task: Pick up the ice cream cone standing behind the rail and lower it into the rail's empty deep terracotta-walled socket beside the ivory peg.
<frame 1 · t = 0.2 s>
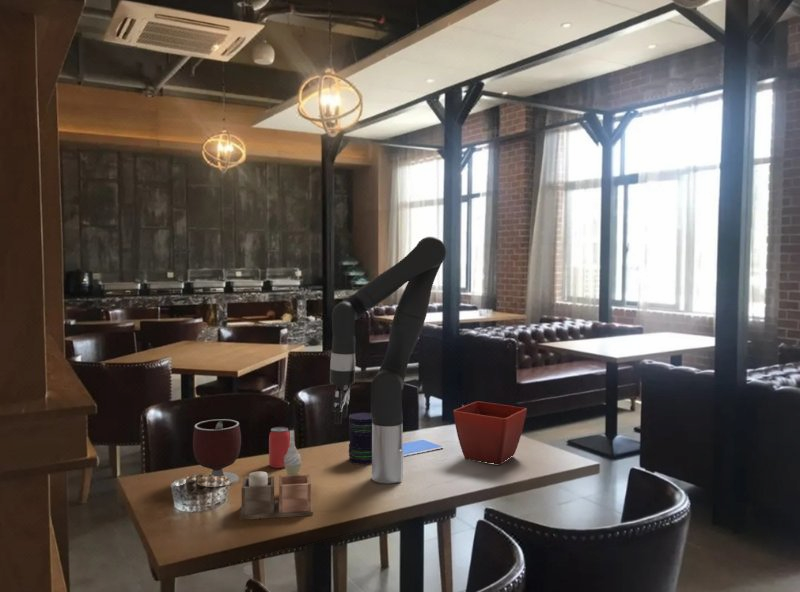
hand: (340, 420, 196), 18 cm above the table, tool pointing down, fingers open, 8 cm apart
storage jar: (363, 460, 216), on the table
socket rail: (276, 510, 171), on the table
plant pot: (489, 459, 219), on the table
mate gourd: (217, 482, 194), on the table
tablet computer: (411, 451, 229), on the table
beer can: (279, 466, 209), on the table
ice cream cone: (292, 492, 185), on the table
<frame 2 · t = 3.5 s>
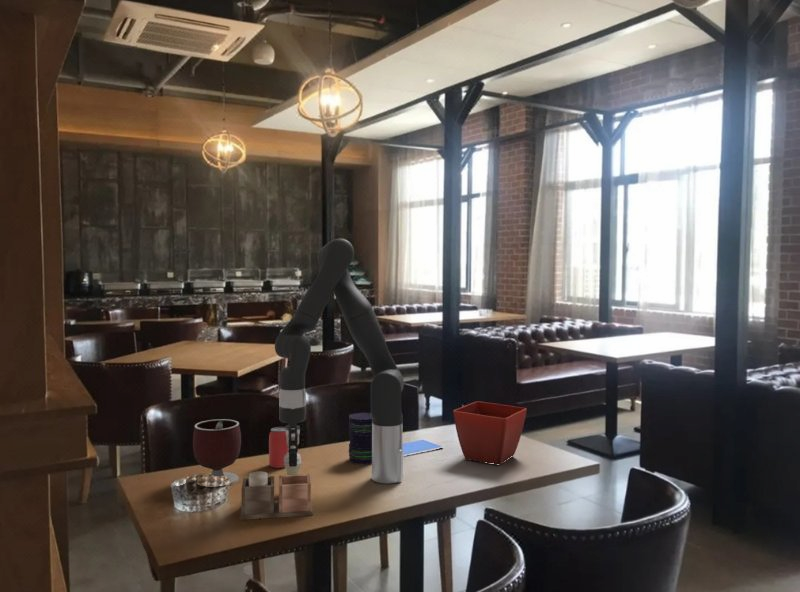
hand: (292, 462, 185), 8 cm above the table, tool pointing down, fingers closed on ice cream cone, 5 cm apart
ice cream cone: (292, 492, 185), on the table, touching gripper
everything else where it was.
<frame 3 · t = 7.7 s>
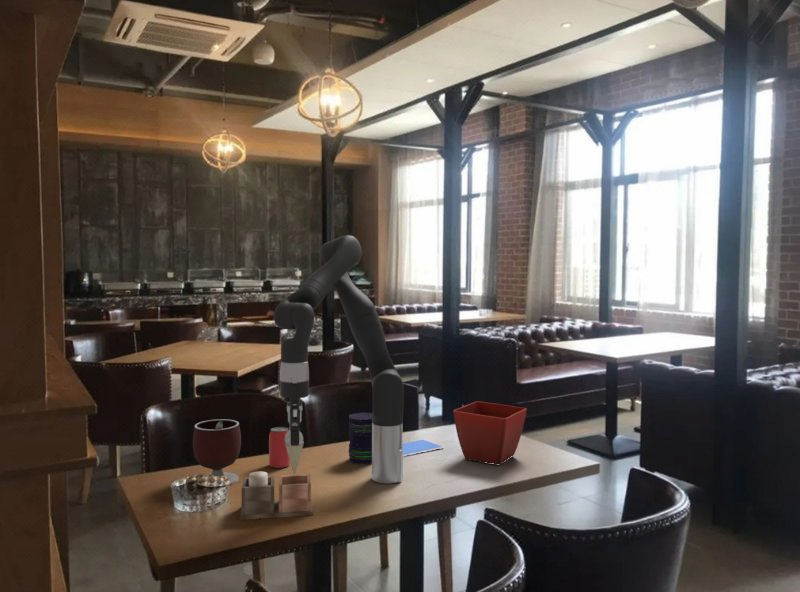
hand: (294, 442, 171), 18 cm above the table, tool pointing down, fingers closed on ice cream cone, 5 cm apart
ice cream cone: (294, 474, 171), point 10 cm above the table, touching gripper
everything else where it was.
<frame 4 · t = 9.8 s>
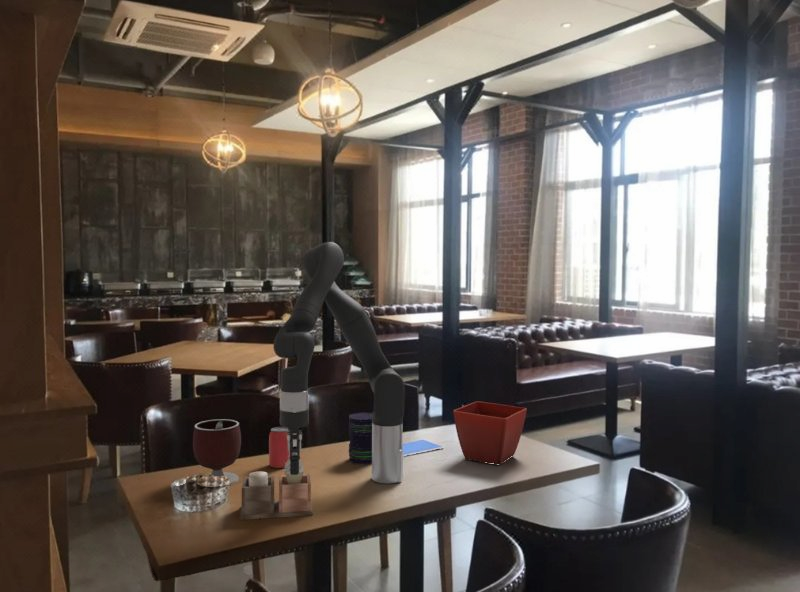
hand: (294, 470, 171), 10 cm above the table, tool pointing down, fingers closed on ice cream cone, 5 cm apart
ice cream cone: (294, 502, 172), point 2 cm above the table, touching gripper
everything else where it was.
when the fingers open (9 cm above the table, at t = 11.7 s): ice cream cone stays where it is, resting on socket rail.
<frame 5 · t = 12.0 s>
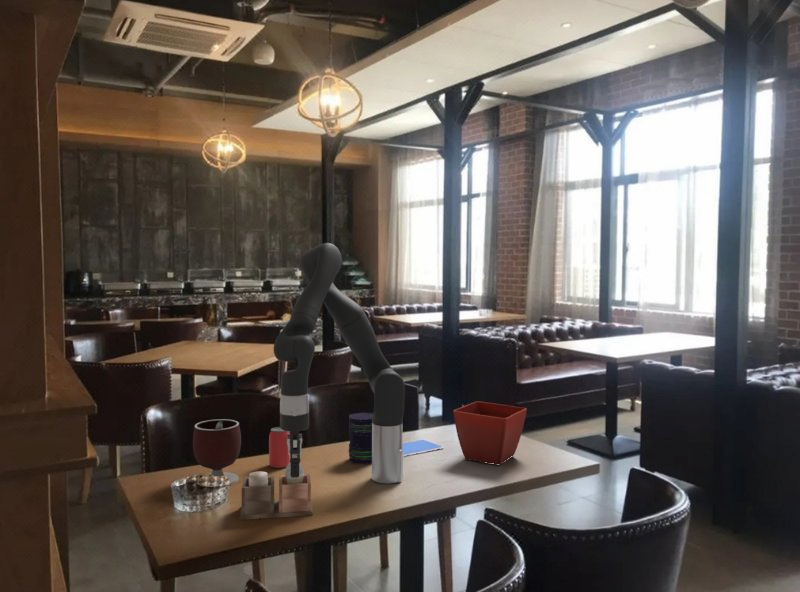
hand: (294, 472, 171), 10 cm above the table, tool pointing down, fingers open, 7 cm apart
ice cream cone: (294, 506, 172), point 1 cm above the table, touching socket rail
everything else where it was.
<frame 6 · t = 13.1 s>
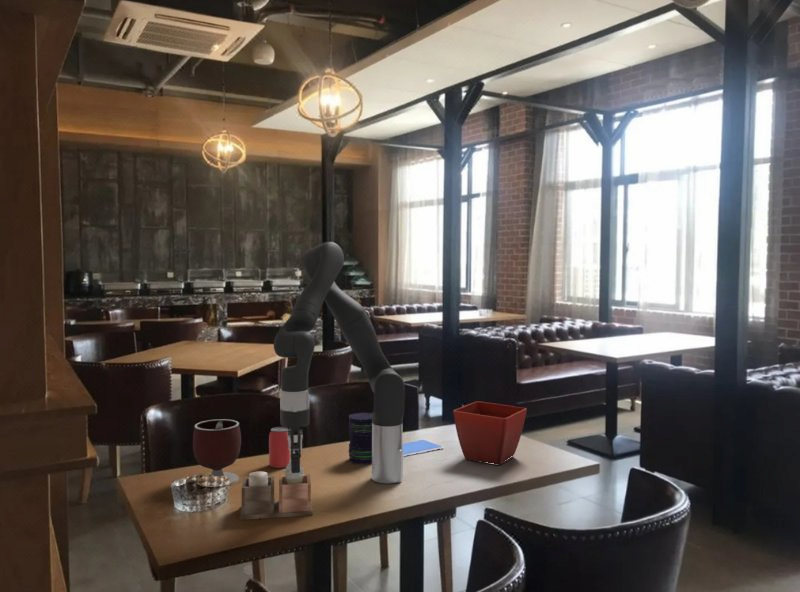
hand: (295, 467, 171), 11 cm above the table, tool pointing down, fingers open, 8 cm apart
nothing on the table moved.
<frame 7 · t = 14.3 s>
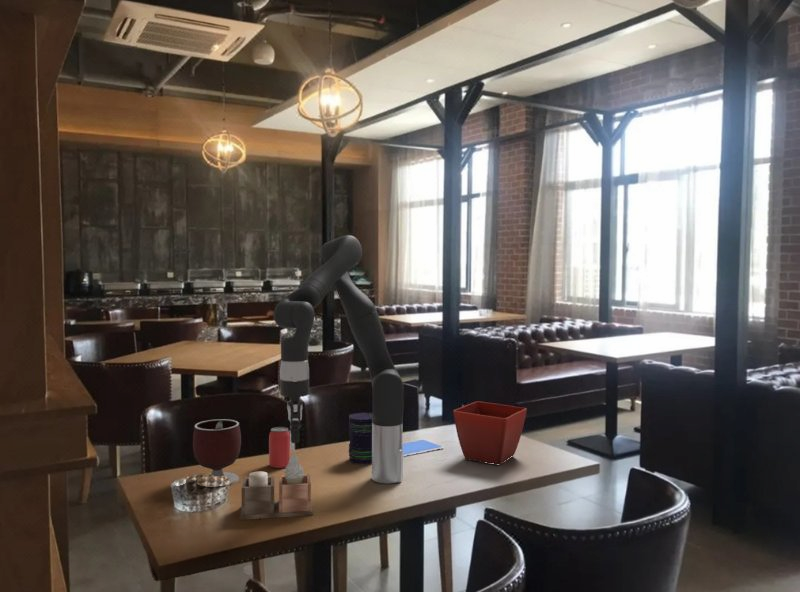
hand: (294, 438, 171), 19 cm above the table, tool pointing down, fingers open, 8 cm apart
nothing on the table moved.
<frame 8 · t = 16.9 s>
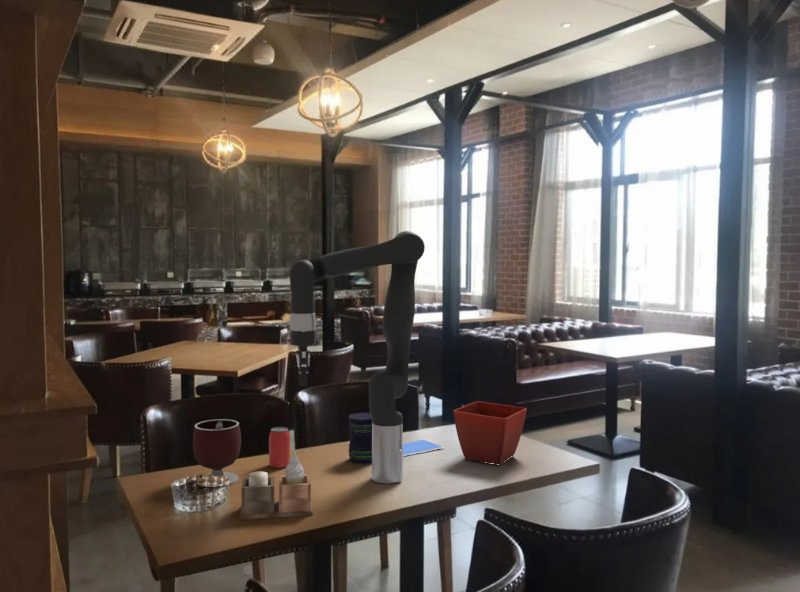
hand: (303, 383, 190), 30 cm above the table, tool pointing down, fingers open, 8 cm apart
nothing on the table moved.
at the end: ice cream cone 0.0 cm from the target spot on the socket rail, point 0.8 cm above the socket rail's base; ice cream cone tilted 1°; the gripper is holding nothing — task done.
